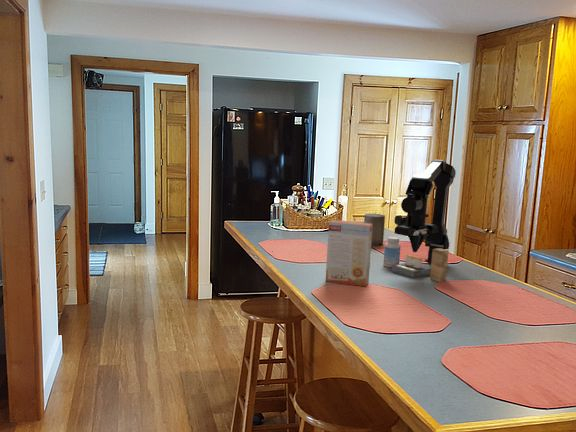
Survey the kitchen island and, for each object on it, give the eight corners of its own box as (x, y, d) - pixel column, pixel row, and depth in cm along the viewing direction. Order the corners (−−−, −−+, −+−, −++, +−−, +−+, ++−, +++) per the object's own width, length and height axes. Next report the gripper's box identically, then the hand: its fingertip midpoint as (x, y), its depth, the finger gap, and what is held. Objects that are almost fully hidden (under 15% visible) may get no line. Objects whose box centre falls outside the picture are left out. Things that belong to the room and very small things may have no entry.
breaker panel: (412, 268, 205) (413, 261, 204) (433, 274, 197) (434, 267, 196) (391, 271, 197) (392, 264, 197) (413, 278, 189) (413, 271, 189)
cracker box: (368, 283, 180) (373, 223, 177) (365, 287, 174) (370, 225, 171) (329, 277, 184) (333, 218, 181) (324, 281, 179) (328, 221, 176)
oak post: (436, 277, 192) (439, 248, 191) (445, 280, 189) (448, 250, 188) (429, 278, 190) (432, 249, 188) (438, 281, 187) (441, 251, 185)
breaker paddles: (408, 263, 200) (409, 254, 199) (422, 267, 195) (423, 258, 194) (404, 264, 199) (405, 255, 198) (418, 268, 193) (419, 258, 193)
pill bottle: (399, 268, 203) (401, 239, 201) (383, 266, 204) (385, 238, 203) (398, 264, 209) (401, 237, 207) (383, 263, 210) (385, 235, 208)
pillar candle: (386, 243, 252) (388, 212, 250) (378, 246, 244) (380, 214, 241) (367, 240, 257) (369, 210, 255) (359, 243, 249) (361, 212, 247)
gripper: (417, 206, 205) (413, 245, 208) (384, 208, 194) (381, 250, 196) (440, 210, 197) (436, 251, 199) (408, 213, 185) (404, 256, 188)
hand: (414, 252), depth 196 cm, fingers closed
